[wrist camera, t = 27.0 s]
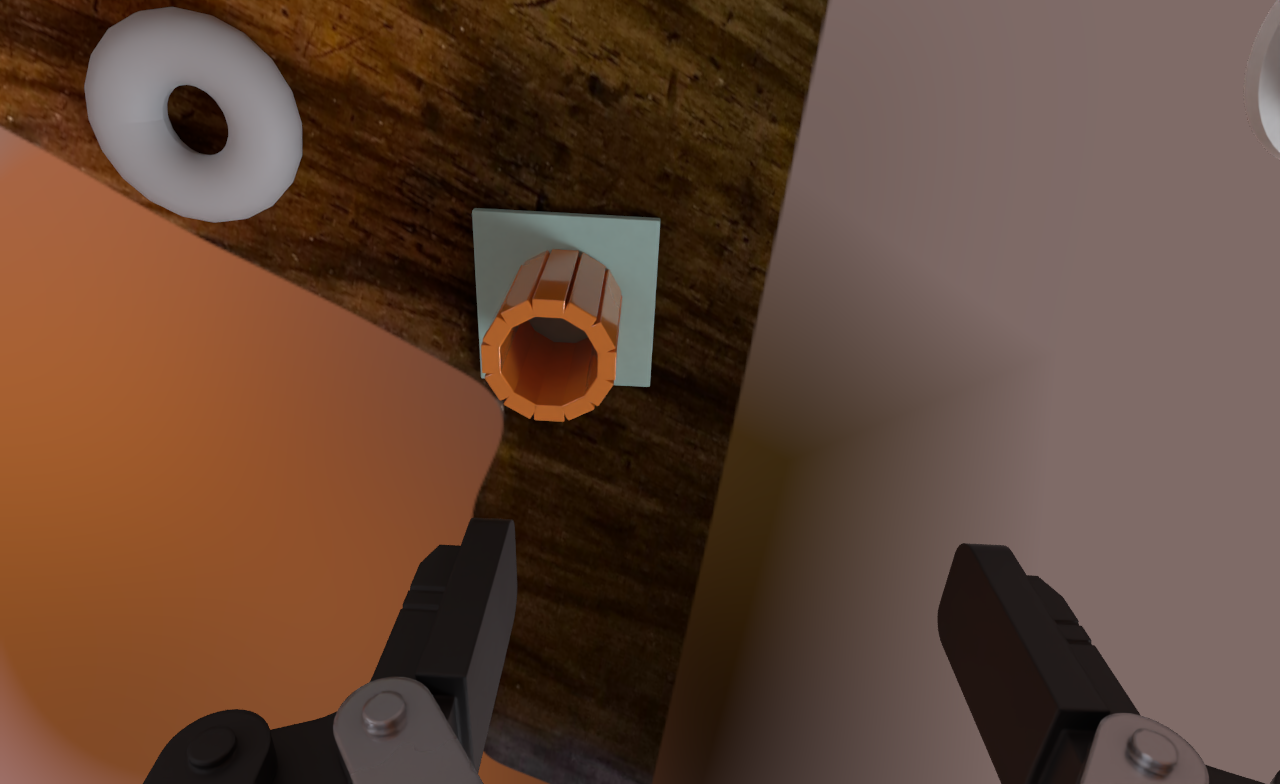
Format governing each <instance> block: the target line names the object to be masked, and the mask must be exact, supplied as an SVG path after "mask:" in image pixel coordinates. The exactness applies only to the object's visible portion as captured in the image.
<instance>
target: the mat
mask: <svg viewBox="0 0 1280 784" xmlns="http://www.w3.org/2000/svg"><path fill="white" fill-rule="evenodd" d="M472 219H473V238H474V256H475V275H476V293H477V312H478V330H479V349H480V367H481V378H485V374H486V373H482V360H481V344H482V342H483V337H484V335H485V333H486V331H487V329H488V327H489V325H490V323H491V321H492V319H493V317H494V315H495V313H496V311H497V309H498V307H499V304H500V302H501V300H502V298H503V296H504V294H505V292H506V290H507V288H508V286H509V284H510V282H511V281H512V279H513V277H514V276H515V274H516V272H517V271H518V269H519V267H520V266H521V265H523V264H524V262H525V261H527V260H529V259H531V258H533V257H535V256H537V255H539V254H540V253H542V252H544V251H546V250H548V251H549V253H551V250H552V249H560V250H578V251H579V257H580V256H581V254H582V253H586V254H587V255H589V256H590V257H592V258H594V259H595V260H597V261H598V262H600V263H602V264H603V265H605V266H606V268H605V271H606V270H608V269H609V270H610V272H611V273H612V275H613V277H614V279H615V281H616V282H617V284H618V286H619V288H620V290H621V296H622V297H623V299H622V321H621V331H620V341H619V351H618V361H617V371H616V379H615V380H614V385H623V386H642V387H650V376H651V360H652V344H653V329H654V313H655V297H656V282H657V266H658V250H659V234H660V218H651V217H632V216H614V215H596V214H577V213H559V212H540V211H522V210H504V209H485V208H474V209H473V210H472ZM529 322H530V324H531V325H532V327H533V328H534V330H535V331H536V332H538V333H540V334H542V335H543V336H545V337H547V338H548V339H550V340H552V341H554V342H567V343H577V342H579V341H581V340H583V339H586V338H588V336H587V335H586V333H585V331H583V330H581V329H580V328H578V327H576V326H575V325H573V324H571V323H570V322H568V321H566V320H564V319H563V318H547V317H534V318H532V319H530V320H529Z"/></svg>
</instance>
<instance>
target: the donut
mask: <svg viewBox="0 0 1280 784" xmlns="http://www.w3.org/2000/svg"><path fill="white" fill-rule="evenodd" d="M181 85H191V86H195V87H197V88H199V89H201V90H203V91H205V92H207V93H208V94H209V95H210V96H211V97H212V98H213V99H214V100H215V101H216V102H217V104H218V105H219V107H220V108H221V110H222V111H223V113H224V116H225V119H226V122H227V125H228V139H227V142H226V146H225V147H224V148H223V150H222V151H221V152H219V153H217V154H215V155H206V154H202V153H198V152H196V151H195V150H193V149H191V148H189V147H188V146H187V145H186V144H185V143H184V142H183V141H181V139H180V138H179V136H178V135H177V134H176V132H175V131H174V129H173V127H172V125H171V122H170V120H169V117H168V109H167V102H168V98H169V95H170V94H171V93H172V91H173V90H174V89H175V88H176V87H178V86H181ZM84 89H85V97H86V104H87V112H88V119H89V122H90V124H91V126H92V129H93V131H94V133H95V135H96V138H97V140H98V142H99V145H100V147H101V149H102V151H103V153H104V154H105V155H106V156H107V158H108V159H109V160H110V162H111V163H112V164H113V166H114V167H115V168H116V170H117V171H118V172H119V174H120V175H121V176H122V178H123V179H124V180H126V181H127V182H128V183H129V184H130V185H132V186H133V187H134V188H135V189H137V190H138V191H139V192H140V193H141V194H143V195H144V196H145V197H146V198H147V199H149V200H150V201H152V202H154V203H156V204H158V205H160V206H162V207H164V208H166V209H168V210H170V211H172V212H174V213H176V214H178V215H181V216H183V217H188V218H193V219H199V220H204V221H209V222H214V223H215V222H224V221H233V220H242V219H247V218H250V217H252V216H254V215H256V214H257V213H259V212H261V211H263V210H265V209H267V208H269V207H271V206H273V205H274V204H275V202H276V201H277V200H278V199H279V198H280V197H281V196H282V194H283V193H284V192H285V191H286V190H287V189H288V187H289V186H290V185H291V184H292V183H293V181H294V178H295V175H296V172H297V169H298V166H299V163H300V160H301V158H302V122H301V119H300V116H299V112H298V109H297V106H296V103H295V99H294V96H293V93H292V90H291V89H290V87H289V86H288V84H287V82H286V81H285V79H284V78H283V76H282V74H281V73H280V71H279V70H278V68H277V66H276V65H275V63H274V62H273V60H272V59H271V58H270V57H269V56H268V55H267V54H266V53H265V52H264V51H263V50H262V49H261V48H260V47H259V46H257V45H256V44H255V43H254V42H253V41H252V40H251V39H250V38H249V37H248V36H247V35H246V34H245V33H243V32H241V31H239V30H238V29H236V28H234V27H232V26H230V25H229V24H227V23H225V22H223V21H221V20H220V19H218V18H216V17H214V16H212V15H208V14H204V13H199V12H194V11H190V10H185V9H181V8H176V7H166V8H158V9H151V10H143V11H139V12H136V13H134V14H132V15H130V16H129V17H127V18H125V19H124V20H122V21H120V22H119V23H117V24H115V25H114V26H112V27H110V28H109V29H108V30H107V31H106V33H105V34H104V36H103V37H102V39H101V40H100V42H99V43H98V45H97V46H96V48H95V49H94V51H93V52H92V54H91V57H90V61H89V66H88V71H87V76H86V81H85V86H84Z"/></svg>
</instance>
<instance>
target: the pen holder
mask: <svg viewBox="0 0 1280 784" xmlns="http://www.w3.org/2000/svg"><path fill="white" fill-rule="evenodd" d="M605 268H606V266H605V265H603V264H602V263H600V262H598V261H597V260H595V259H594V258H592V257H590V256H589V255H587V254H586V253H582V254H581V256H580V257H579V251H578V250H560V249H552V250H551V253H549V251H548V250H546V251H544V252H542V253H540V254H539V255H537V256H535V257H533V258H531V259H529V260H527V261H525V262H524V264H523V265H521V266H520V267H519V269H518V271H517V272H516V274H515V276H514V277H513V279H512V281H511V282H510V284H509V286H508V288H507V290H506V292H505V294H504V296H503V298H502V300H501V302H500V304H499V307H498V309H497V311H496V313H495V315H494V317H493V319H492V321H491V323H490V325H489V327H488V329H487V331H486V333H485V335H484V337H483V342H482V344H481V360H482V373H486V374H485V379H486V381H487V382H488V384H489V385H490V387H491V388H492V390H493V391H494V393H495V394H496V396H497V397H498V399H499V400H503V399H505V401H504V405H505V406H507V407H509V408H511V409H513V410H515V411H516V412H518V413H520V414H522V415H524V416H526V417H527V418H531V417H532V415H533V414H534V420H542V421H561V422H564V420H565V416H566V418H567V419H568V420H571V419H573V418H576V417H578V416H580V415H582V414H585V413H587V412H589V411H591V410H594V408H595V405H596V406H599V404H600V403H601V402H602V400H603V399H604V397H605V396H606V395H607V393H608V392H609V391H610V389H611V388H612V386H613V385H614V380H615V379H616V371H617V361H618V351H619V341H620V331H621V321H622V299H623V297H622V296H621V290H620V288H619V286H618V284H617V282H616V281H615V279H614V277H613V275H612V273H611V272H610V270H609V269H608V270H606V271H605ZM534 317H547V318H563V319H564V320H566V321H568V322H570V323H571V324H573V325H575V326H576V327H578V328H580V329H581V330H583V331H585V333H586V335H587V336H588V338H586V339H583V340H581V341H579V342H577V343H567V342H554V341H552V340H550V339H548V338H547V337H545V336H543V335H542V334H540V333H538V332H536V331H535V330H534V328H533V327H532V325H531V324H530V322H529V320H530V319H532V318H534Z"/></svg>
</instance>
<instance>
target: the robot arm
mask: <svg viewBox="0 0 1280 784" xmlns="http://www.w3.org/2000/svg"><path fill="white" fill-rule="evenodd" d="M516 600H517V570H516V547H515V527H514V521H513V520H509V519H489V518H472V519H471V520H470V522H469V525H468V527H467V530H466V533H465V536H464V538H463V541H462V544H461V546H455V545H439V546H438V547H437V548H436V549H435V550H434V551H433V552H432V553H431V554H429V555H428V556H427V557H426V558H425V559H424V560H423V561H422V562H421V563H420V565H419V567H418V569H417V572H416V574H415V576H414V579H413V581H412V584H411V586H410V591H408V594H407V596H406V598H405V600H404V603H403V608H402V609H401V610H400V612H399V615H398V617H397V619H396V622H395V624H394V627H393V629H392V631H391V634H390V636H389V639H388V641H387V644H386V646H385V648H384V651H383V653H382V655H381V658H380V660H379V663H378V665H377V667H376V670H375V672H374V674H373V677H372V679H371V681H370V682H369V683H367V684H365V685H364V686H362V687H360V688H359V689H357V690H356V691H354V692H353V693H352V694H351V695H350V696H348V697H347V699H346V700H345V701H344V702H343V703H342V704H341V706H340V708H339V709H338V711H337V712H335V713H333V714H330V715H328V716H326V717H323V718H319V719H316V720H312V721H308V722H303V723H299V724H294V725H290V726H286V727H282V728H277V729H272V730H270V729H269V726H268V724H267V723H266V721H265V720H264V719H263V718H262V717H261V716H259V715H258V714H256V713H254V712H251V711H247V710H238V709H235V710H225V711H220V712H216V713H213V714H210V715H207V716H205V717H202V718H200V719H198V720H196V721H194V722H193V723H191V724H189V725H188V726H187V727H185V728H184V729H182V730H181V731H180V732H179V733H177V735H175V736H174V737H173V738H172V739H171V740H170V741H169V743H168V744H167V745H166V746H165V748H164V749H163V750H162V752H161V754H160V755H159V757H158V759H157V760H156V762H155V764H154V766H153V768H152V769H151V771H150V772H149V774H148V776H147V778H146V779H145V781H144V783H143V784H483V782H482V780H481V779H480V777H479V775H478V771H479V767H480V763H481V758H482V754H483V750H484V746H485V741H486V737H487V733H488V728H489V724H490V720H491V716H492V711H493V707H494V703H495V698H496V694H497V690H498V685H499V681H500V677H501V673H502V668H503V664H504V660H505V655H506V651H507V647H508V643H509V638H510V634H511V630H512V625H513V621H514V616H515V609H516ZM938 631H939V636H940V640H941V643H942V646H943V648H944V650H945V652H946V655H947V657H948V660H949V662H950V664H951V667H952V669H953V671H954V673H955V676H956V678H957V681H958V683H959V685H960V687H961V690H962V692H963V695H964V697H965V699H966V702H967V704H968V706H969V708H970V711H971V713H972V716H973V718H974V720H975V722H976V725H977V727H978V730H979V732H980V734H981V737H982V739H983V741H984V744H985V746H986V749H987V750H988V753H989V756H990V758H991V760H992V763H993V765H994V767H995V770H996V772H997V774H998V777H999V779H1000V781H1001V784H1265V783H1262V782H1258V781H1255V780H1252V779H1249V778H1245V777H1242V776H1239V775H1235V774H1232V773H1229V772H1226V771H1223V770H1219V769H1216V768H1213V767H1210V766H1207V765H1205V764H1204V762H1203V760H1202V759H1201V757H1200V756H1199V754H1198V753H1197V752H1196V751H1195V750H1194V748H1193V747H1192V746H1191V745H1190V744H1189V743H1188V742H1187V741H1186V740H1185V739H1183V738H1182V737H1181V736H1179V735H1178V734H1177V733H1175V732H1174V731H1172V730H1171V729H1169V728H1168V727H1166V726H1164V725H1163V724H1160V723H1159V722H1157V721H1154V720H1152V719H1150V718H1146V717H1143V716H1141V715H1140V714H1139V712H1138V711H1137V709H1136V708H1135V706H1134V705H1133V703H1132V702H1131V700H1130V698H1129V697H1128V695H1127V694H1126V692H1125V691H1124V689H1123V688H1122V686H1121V685H1120V683H1119V682H1118V680H1117V679H1116V677H1115V676H1114V674H1113V673H1112V671H1111V670H1110V668H1109V667H1108V665H1107V663H1106V662H1105V660H1104V659H1103V657H1102V656H1101V654H1100V653H1099V651H1098V650H1097V648H1096V647H1095V646H1094V645H1092V644H1091V639H1090V638H1089V636H1088V635H1087V633H1086V632H1085V630H1084V629H1083V627H1082V626H1079V624H1078V619H1077V618H1076V616H1075V615H1074V613H1073V612H1072V610H1071V609H1070V607H1069V606H1068V604H1067V603H1066V601H1065V600H1064V598H1063V597H1062V596H1061V595H1060V594H1058V593H1057V592H1056V591H1055V590H1054V589H1052V588H1051V587H1050V586H1049V585H1048V584H1046V583H1045V582H1044V581H1043V580H1042V579H1041V578H1039V577H1038V576H1029V575H1028V576H1027V575H1026V574H1025V572H1024V570H1023V569H1022V567H1021V566H1020V564H1019V562H1018V561H1017V559H1016V558H1015V556H1014V555H1013V553H1012V551H1011V550H1010V549H1009V548H1008V547H1007V546H1004V545H984V544H965V543H963V544H961V545H959V547H958V548H957V550H956V552H955V555H954V559H953V562H952V566H951V569H950V572H949V575H948V578H947V582H946V585H945V588H944V591H943V595H942V598H941V601H940V605H939V609H938ZM1270 784H1280V771H1279V772H1278V773H1277V774H1276V775H1275V777H1274V778H1273V780H1272V781H1271V783H1270Z"/></svg>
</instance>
